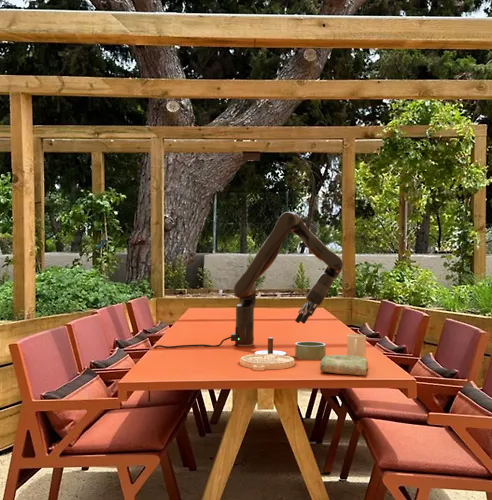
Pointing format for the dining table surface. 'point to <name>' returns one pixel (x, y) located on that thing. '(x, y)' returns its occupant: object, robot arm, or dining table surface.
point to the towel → (344, 364)
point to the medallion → (266, 361)
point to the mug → (356, 345)
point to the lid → (270, 349)
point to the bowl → (310, 350)
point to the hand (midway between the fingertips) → (299, 322)
